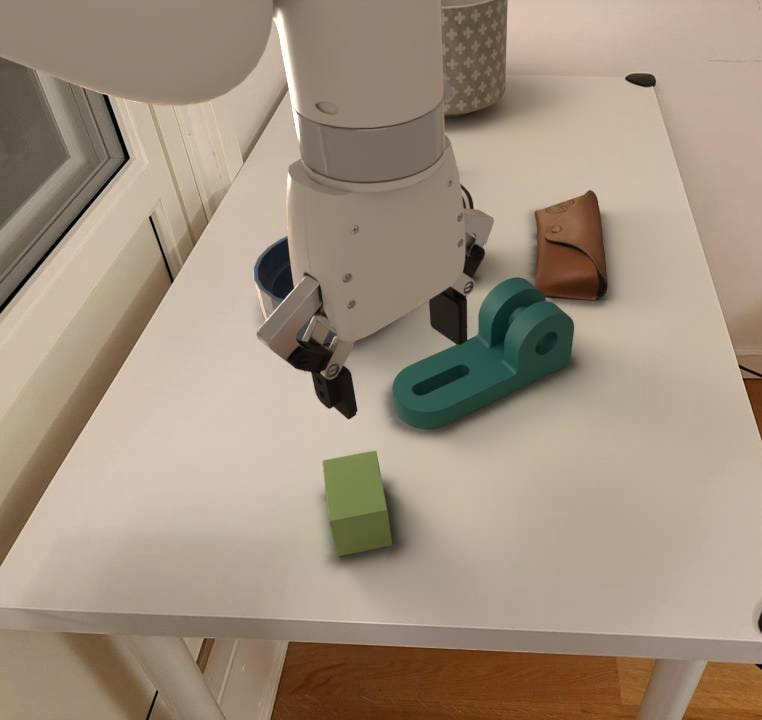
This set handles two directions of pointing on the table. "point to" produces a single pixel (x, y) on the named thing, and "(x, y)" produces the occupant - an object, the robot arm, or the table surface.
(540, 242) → the sunglasses case
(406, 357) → the table surface
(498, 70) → the planter
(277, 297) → the bowl
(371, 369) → the table surface
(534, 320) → the bracket
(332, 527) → the lime green cube
